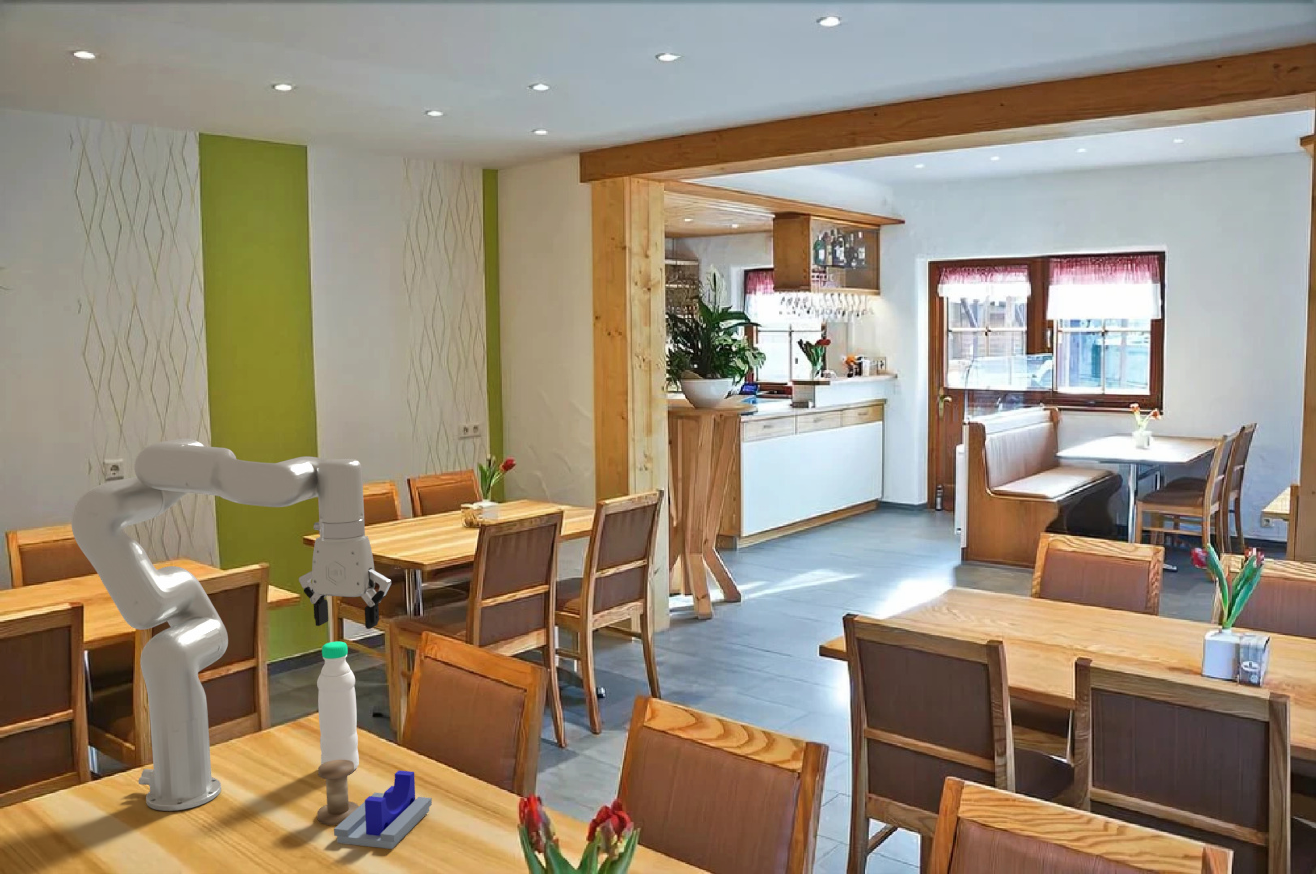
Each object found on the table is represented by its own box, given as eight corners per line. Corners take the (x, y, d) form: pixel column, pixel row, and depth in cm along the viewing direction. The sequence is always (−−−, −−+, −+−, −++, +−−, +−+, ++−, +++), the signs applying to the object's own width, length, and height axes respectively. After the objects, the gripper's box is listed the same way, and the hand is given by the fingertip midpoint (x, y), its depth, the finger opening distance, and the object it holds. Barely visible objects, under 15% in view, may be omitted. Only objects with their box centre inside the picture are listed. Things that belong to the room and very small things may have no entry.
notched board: (334, 842, 177) (333, 829, 177) (375, 805, 191) (374, 792, 191) (394, 849, 175) (394, 835, 174) (432, 811, 188) (431, 798, 188)
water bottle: (353, 776, 203) (347, 649, 200) (316, 776, 203) (309, 649, 201) (363, 761, 210) (358, 638, 207) (328, 761, 210) (322, 638, 208)
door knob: (309, 822, 184) (307, 773, 183) (331, 805, 191) (328, 756, 190) (346, 826, 183) (343, 776, 182) (366, 808, 190) (364, 760, 189)
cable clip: (392, 802, 189) (391, 769, 189) (415, 804, 188) (414, 772, 188) (358, 833, 178) (356, 799, 177) (382, 836, 177) (381, 802, 176)
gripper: (285, 532, 184) (290, 628, 185) (377, 535, 180) (381, 634, 181) (309, 524, 191) (314, 617, 193) (397, 527, 187) (401, 622, 189)
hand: (346, 625), depth 187 cm, fingers open, 9 cm apart
